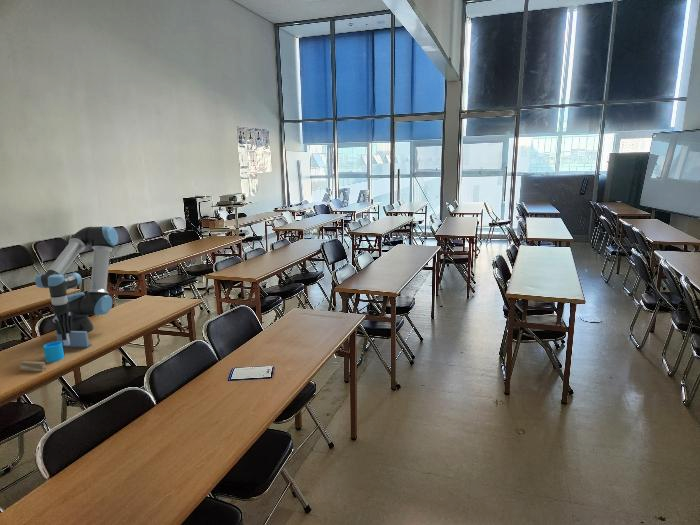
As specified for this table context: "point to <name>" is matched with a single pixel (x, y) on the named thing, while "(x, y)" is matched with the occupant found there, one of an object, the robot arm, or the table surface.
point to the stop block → (32, 366)
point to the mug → (53, 351)
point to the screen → (76, 339)
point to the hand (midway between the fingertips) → (67, 344)
